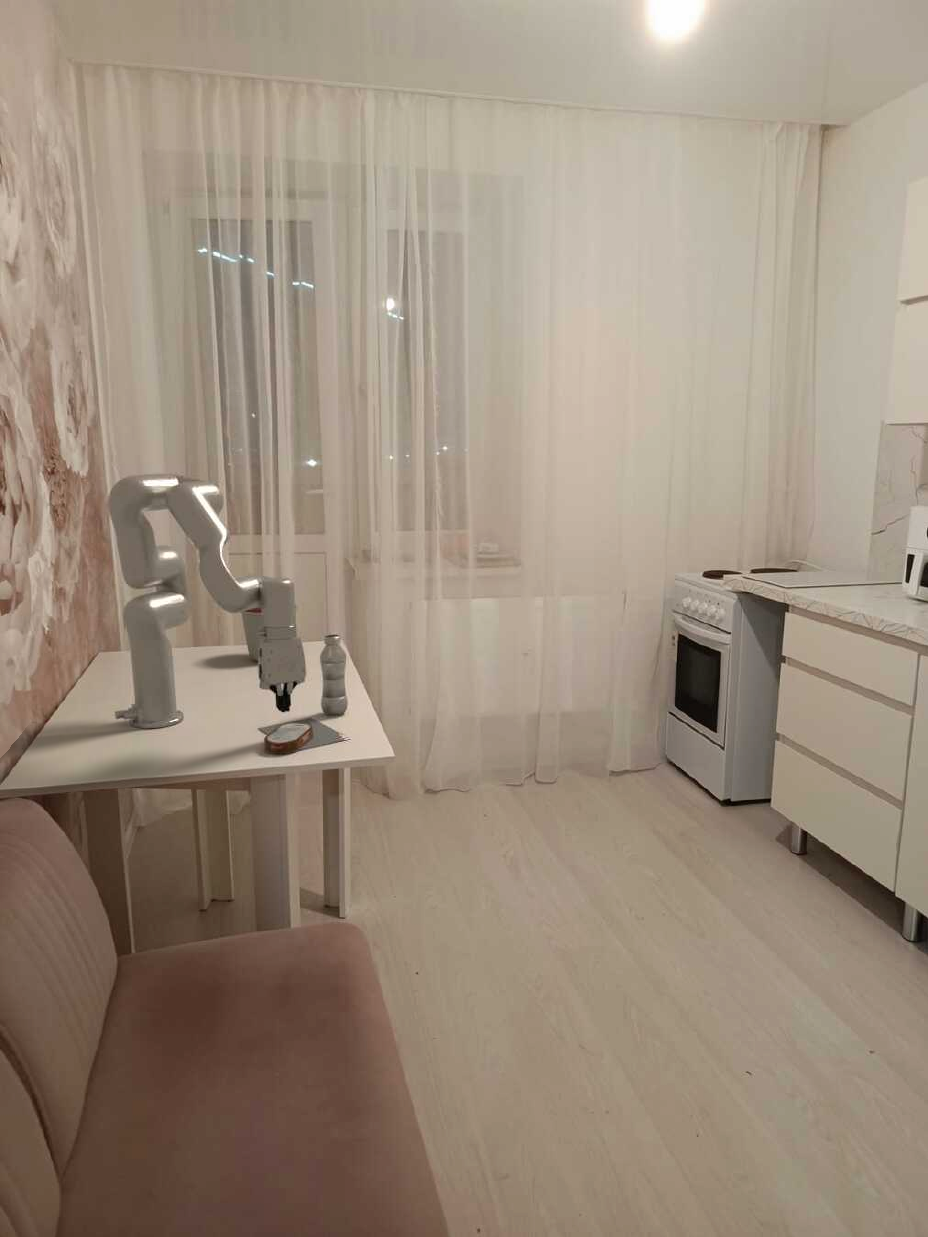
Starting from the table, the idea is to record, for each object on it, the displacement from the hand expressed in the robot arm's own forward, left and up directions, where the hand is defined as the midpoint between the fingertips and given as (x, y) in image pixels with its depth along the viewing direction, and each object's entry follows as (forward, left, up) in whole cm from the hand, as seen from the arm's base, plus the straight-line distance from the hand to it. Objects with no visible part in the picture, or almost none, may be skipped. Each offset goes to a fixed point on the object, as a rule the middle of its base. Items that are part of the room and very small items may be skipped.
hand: (283, 710), depth 205 cm
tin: (-4, -1, -5) cm, 6 cm away
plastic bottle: (+18, +10, -7) cm, 22 cm away
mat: (+5, 0, -7) cm, 8 cm away
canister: (+29, +74, -7) cm, 80 cm away
